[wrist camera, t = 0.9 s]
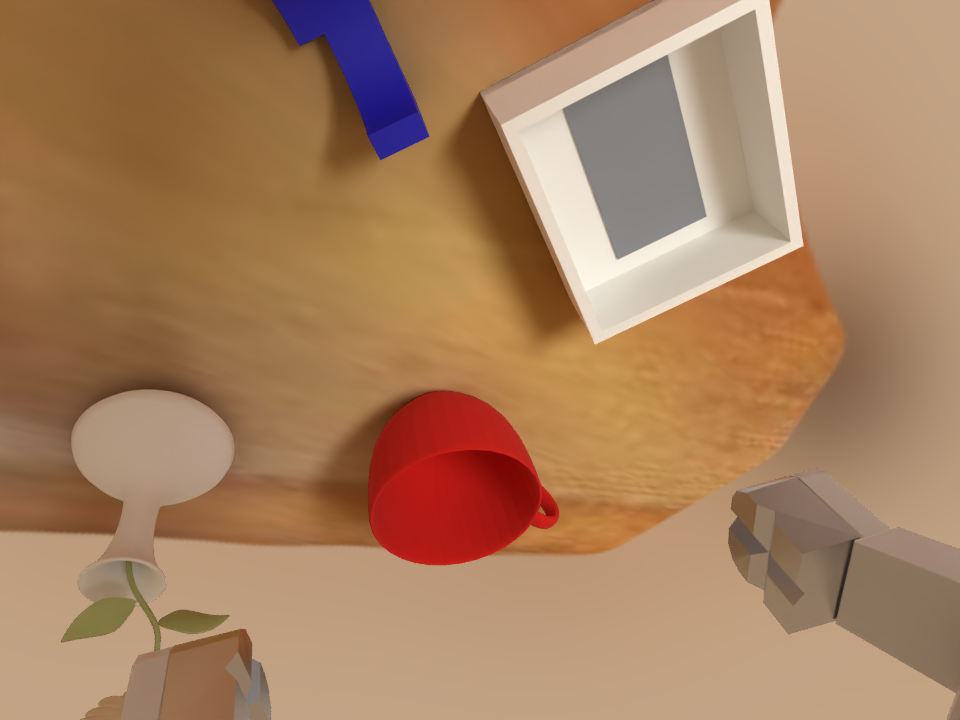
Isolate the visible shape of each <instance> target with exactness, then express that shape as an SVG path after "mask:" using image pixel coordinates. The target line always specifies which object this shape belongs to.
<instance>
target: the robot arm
mask: <svg viewBox="0 0 960 720" xmlns="http://www.w3.org/2000/svg"><path fill="white" fill-rule="evenodd" d="M731 509H732V511H733V512H734V513H735V514H736V515H737V518H736V520H735V521H734V522H733V524H732V525H731V526H730V528H729V539H728V544H729V548H730V551H731V555H732V559H733V561H734V563H735V565H736V566H737V568H738V570H739V572H740V573H741V574H742V576H743V577H744V578H745V580H746V581H747V582H748V583H750V584H753V585H755V586H757V587H759V588H761V589H763V590H764V601H763V603H764V604H765V605H766V606H767V608H768V609H769V610H770V611H771V613H772V614H773V615H774V617H775V618H776V619H777V620H778V622H779V623H780V624H781V625H782V627H783V628H784V629H785V630H786V632H787V633H788V634H791V633H795V632H798V631H801V630H805V629H808V628H812V627H815V626H819V625H822V624H826V623H829V622H833V621H836V624H837V625H839V626H841V627H843V628H844V629H846V630H848V631H849V632H851V633H853V634H855V635H856V636H858V637H860V638H862V639H864V640H865V641H867V642H869V643H870V644H872V645H874V646H876V647H877V648H879V649H881V650H882V651H884V652H886V653H888V654H889V655H891V656H893V657H894V658H896V659H898V660H900V661H901V662H903V663H905V664H907V665H909V666H910V667H912V668H914V669H915V670H917V671H919V672H921V673H922V674H924V675H926V676H927V677H929V678H931V679H933V680H934V681H936V682H938V683H939V684H941V685H943V686H945V687H946V688H948V689H950V690H952V691H953V692H955V693H956V695H955V698H954V701H953V704H952V706H951V708H950V711H949V714H948V717H947V720H960V549H958V548H955V547H952V546H950V545H947V544H944V543H941V542H938V541H936V540H933V539H930V538H927V537H925V536H922V535H919V534H916V533H913V532H911V531H908V530H905V529H902V528H899V527H898V528H895V529H890V528H889V527H888V526H886V525H885V524H884V523H883V522H882V521H881V520H880V519H879V518H877V517H876V516H875V515H874V514H873V513H872V512H871V511H869V510H868V509H867V508H866V507H865V506H864V505H863V504H862V503H860V502H859V501H858V500H857V499H856V498H855V497H854V496H853V495H851V494H850V493H849V492H848V491H847V490H846V489H845V488H843V487H842V486H841V485H840V484H839V483H838V482H837V481H836V480H834V479H833V478H832V477H831V476H830V475H829V474H828V473H827V472H825V471H824V470H821V469H818V468H815V469H811V470H808V471H804V472H801V473H797V474H794V475H790V476H789V477H783V478H779V479H775V480H772V481H769V482H765V483H762V484H758V485H755V486H751V487H748V488H745V489H741V490H738V491H736V493H735V494H734V496H733V497H732V504H731ZM121 720H271V705H270V697H269V690H268V684H267V680H266V677H265V673H264V671H263V668H262V666H261V663H260V662H258V661H256V660H254V659H252V642H251V640H250V638H249V636H248V634H247V631H246V630H245V629H239V630H235V631H231V632H227V633H223V634H219V635H215V636H211V637H207V638H203V639H199V640H196V641H191V642H188V643H183V644H179V645H175V646H173V647H169V648H166V649H162V650H158V651H154V652H150V653H146V654H142V655H139V656H138V657H137V659H136V661H135V662H134V664H133V666H132V670H131V674H130V679H129V684H128V689H127V693H126V698H125V702H124V707H123V712H122V717H121Z"/></svg>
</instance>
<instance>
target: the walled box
mask: <svg viewBox="0 0 960 720" xmlns="http://www.w3.org/2000/svg"><path fill="white" fill-rule="evenodd" d="M480 94H481V96H482V99H483V101H484V103H485V105H486V108H487V110H488V112H489V115H490V117H491V119H492V121H493V124H494V126H495V128H496V131H497V133H498V135H499V138H500V140H501V142H502V144H503V147H504V149H505V151H506V154H507V156H508V158H509V160H510V163H511V165H512V167H513V170H514V172H515V174H516V176H517V179H518V181H519V183H520V186H521V188H522V190H523V192H524V195H525V197H526V199H527V202H528V204H529V206H530V209H531V211H532V213H533V215H534V218H535V220H536V222H537V225H538V227H539V229H540V231H541V234H542V236H543V238H544V241H545V243H546V245H547V247H548V250H549V252H550V254H551V257H552V259H553V261H554V263H555V266H556V268H557V270H558V273H559V275H560V277H561V280H562V282H563V284H564V286H565V289H566V291H567V293H568V296H569V298H570V300H571V302H572V304H573V305H574V307H575V309H576V311H577V313H578V314H579V316H580V318H581V320H582V322H583V324H584V325H585V327H586V329H587V331H588V333H589V334H590V336H591V338H592V340H593V342H594V343H595V344H597V343H599V342H601V341H603V340H605V339H607V338H610V337H612V336H614V335H616V334H618V333H620V332H622V331H624V330H626V329H629V328H631V327H633V326H635V325H637V324H639V323H641V322H643V321H646V320H648V319H650V318H652V317H654V316H656V315H658V314H660V313H662V312H665V311H667V310H669V309H671V308H673V307H675V306H677V305H679V304H682V303H684V302H686V301H688V300H690V299H692V298H694V297H696V296H698V295H701V294H703V293H705V292H707V291H709V290H711V289H713V288H715V287H717V286H720V285H722V284H724V283H726V282H728V281H730V280H732V279H734V278H737V277H739V276H741V275H743V274H745V273H747V272H749V271H751V270H753V269H756V268H758V267H760V266H762V265H764V264H766V263H768V262H770V261H773V260H775V259H777V258H779V257H781V256H783V255H785V254H787V253H789V252H792V251H794V250H796V249H798V248H800V247H802V246H803V241H802V233H801V226H800V219H799V212H798V205H797V197H796V190H795V183H794V176H793V168H792V161H791V154H790V147H789V140H788V132H787V125H786V118H785V111H784V104H783V96H782V89H781V82H780V75H779V68H778V61H777V53H776V47H775V39H774V32H773V24H772V17H771V10H770V3H769V0H654V1H652V2H650V3H648V4H646V5H644V6H642V7H640V8H639V9H637V10H635V11H633V12H631V13H629V14H627V15H625V16H623V17H621V18H620V19H618V20H616V21H614V22H612V23H610V24H608V25H606V26H604V27H602V28H601V29H599V30H597V31H595V32H593V33H591V34H589V35H587V36H585V37H583V38H582V39H580V40H578V41H576V42H574V43H572V44H570V45H568V46H566V47H564V48H563V49H561V50H559V51H557V52H555V53H553V54H551V55H549V56H547V57H546V58H544V59H542V60H540V61H538V62H536V63H534V64H532V65H530V66H528V67H527V68H525V69H523V70H521V71H519V72H517V73H515V74H513V75H511V76H509V77H508V78H506V79H504V80H502V81H500V82H498V83H496V84H494V85H492V86H490V87H489V88H487V89H485V90H483V91H481V92H480Z"/></svg>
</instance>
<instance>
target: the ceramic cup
mask: <svg viewBox="0 0 960 720" xmlns="http://www.w3.org/2000/svg"><path fill="white" fill-rule="evenodd" d="M540 506H541V507H542V508H543V510H544V512H545V513H546V515H544V514H541V513H539V512H538V511H539V508H540ZM368 512H369V522H370V525H371V528H372V532H373V534H374V536H375V537H376V539H377V540H378V542H379V543H380V544H381V545H382V546H383V547H384V548H385V549H387V550H388V551H389V552H390V553H392V554H394V555H396V556H398V557H399V558H402V559H404V560H408V561H411V562H414V563H419V564H426V565H450V564H460V563H465V562H469V561H473V560H477V559H480V558H482V557H485V556H488V555H491V554H493V553H495V552H496V551H498V550H500V549H502V548H504V547H506V546H507V545H509V544H510V543H512V542H513V541H515V540H516V539H517V538H518V537H519V536H520V535H521V534H523V533H524V532H525V531H526V530H527V528H528V527H529V526H530V525H532V526H534V527H537V528H540V529H548V528H550V527H552V526H553V525H554V524H555V523H556V522H557V520H558V518H559V509H558V506H557V504H556V502H555V501H554V499H553V498H552V496H551V495H550V494H549V493H548V492H547V490H546V489H545V488H544V487H543V486H542V485H541V483H540V480H539V478H538V475H537V472H536V470H535V467H534V465H533V463H532V460H531V458H530V456H529V454H528V452H527V450H526V448H525V446H524V444H523V442H522V440H521V439H520V437H519V435H518V434H517V433H516V431H515V430H514V429H513V427H512V426H511V425H510V423H509V422H508V421H507V420H506V418H505V417H504V416H503V415H502V414H500V413H499V412H498V411H497V410H495V409H494V408H493V407H492V406H490V405H489V404H487V403H486V402H484V401H482V400H480V399H478V398H476V397H473V396H470V395H466V394H463V393H458V392H452V391H434V392H429V393H426V394H423V395H421V396H419V397H417V398H415V399H414V400H412V401H411V402H409V403H408V404H406V405H405V406H404V407H403V408H401V409H400V410H399V411H398V412H397V413H396V414H395V415H394V416H393V417H392V418H391V419H390V420H389V422H388V423H387V424H386V426H385V427H384V429H383V431H382V433H381V434H380V436H379V438H378V440H377V443H376V445H375V448H374V452H373V456H372V460H371V464H370V470H369V482H368Z"/></svg>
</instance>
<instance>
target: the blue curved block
mask: <svg viewBox="0 0 960 720" xmlns="http://www.w3.org/2000/svg"><path fill="white" fill-rule="evenodd" d="M272 1H273V2H274V4H275V5H276V7H277V9H278V10H279V12H280V13H281V15H282V16H283V18H284V20H285V21H286V23H287V25H288V26H289V28H290V30H291V32H292V33H293V35H294V37H295V39H296V40H297V42H298V44H299V46H301V45H303V44H305V43H307V42H309V41H311V40H313V39H315V38H317V37H319V36H321V35H323V34H324V35H325V37H326V39H327V41H328V43H329V45H330V47H331V49H332V51H333V53H334V55H335V57H336V59H337V61H338V63H339V65H340V67H341V70H342V72H343V74H344V76H345V78H346V80H347V83H348V85H349V87H350V89H351V92H352V94H353V96H354V99H355V101H356V103H357V106H358V108H359V111H360V113H361V116H362V119H363V121H364V124H365V127H366V131H367V135H368V137H369V139H370V141H371V143H372V145H373V147H374V149H375V151H376V153H377V154H378V156H379V158H380V160H382V159H384V158H386V157H388V156H390V155H392V154H394V153H396V152H398V151H400V150H402V149H405V148H407V147H409V146H411V145H413V144H415V143H417V142H419V141H421V140H423V139H425V138H427V137H429V134H428V131H427V129H426V126H425V124H424V121H423V118H422V116H421V113H420V110H419V108H418V105H417V103H416V100H415V98H414V96H413V94H412V92H411V90H410V87H409V85H408V83H407V81H406V79H405V77H404V74H403V72H402V70H401V68H400V66H399V64H398V61H397V59H396V57H395V55H394V53H393V51H392V48H391V46H390V44H389V42H388V40H387V38H386V35H385V33H384V31H383V29H382V27H381V25H380V22H379V20H378V18H377V16H376V14H375V12H374V9H373V7H372V5H371V3H370V1H369V0H272Z"/></svg>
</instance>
